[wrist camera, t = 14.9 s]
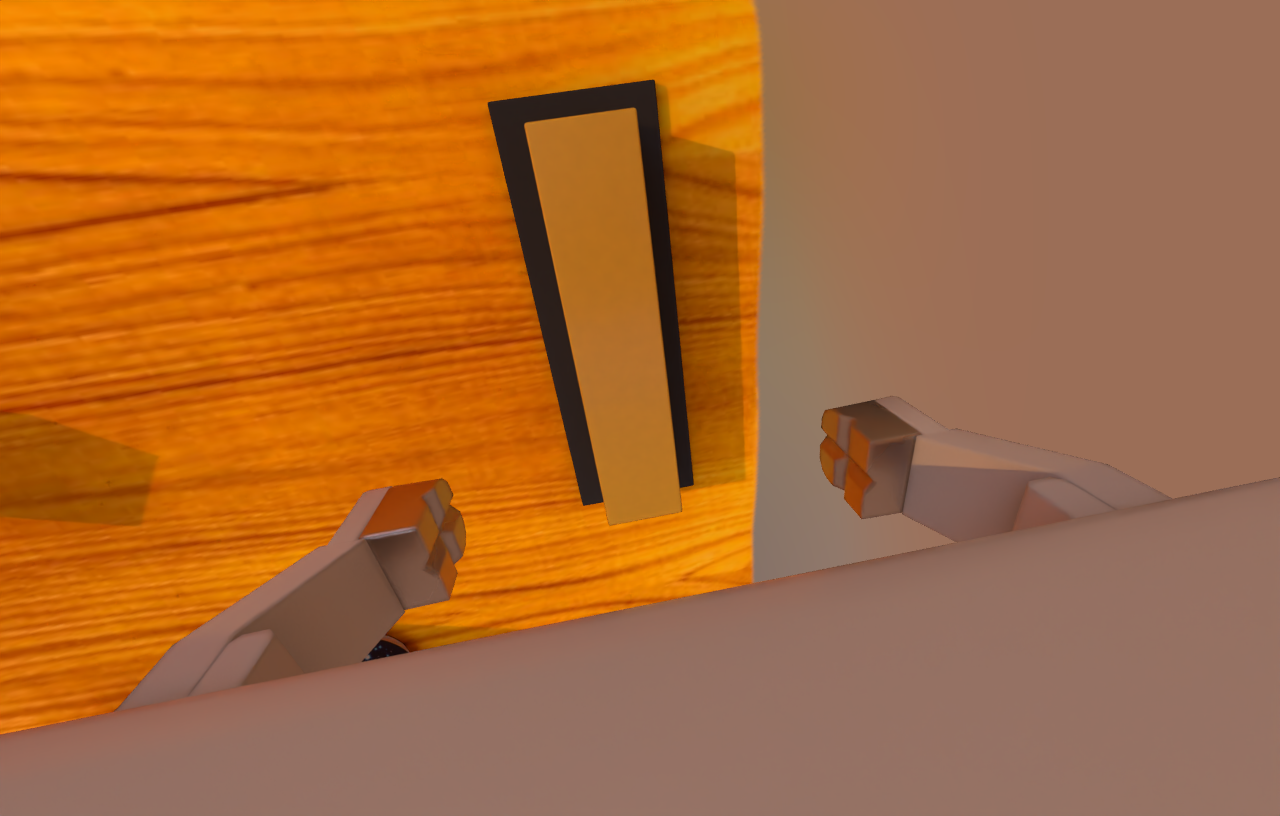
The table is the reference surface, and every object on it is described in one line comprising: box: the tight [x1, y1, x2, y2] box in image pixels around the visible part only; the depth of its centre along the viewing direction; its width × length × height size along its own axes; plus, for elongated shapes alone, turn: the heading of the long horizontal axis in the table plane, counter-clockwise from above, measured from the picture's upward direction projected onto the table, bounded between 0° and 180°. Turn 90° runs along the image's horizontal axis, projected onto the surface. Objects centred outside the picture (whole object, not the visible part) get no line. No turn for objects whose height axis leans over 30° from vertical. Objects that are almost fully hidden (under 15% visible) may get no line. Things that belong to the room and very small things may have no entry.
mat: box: [488, 80, 694, 506], centre depth 20 cm, size 18×6×1 cm, turn 8°
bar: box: [524, 108, 682, 526], centre depth 19 cm, size 4×16×3 cm, turn 8°
